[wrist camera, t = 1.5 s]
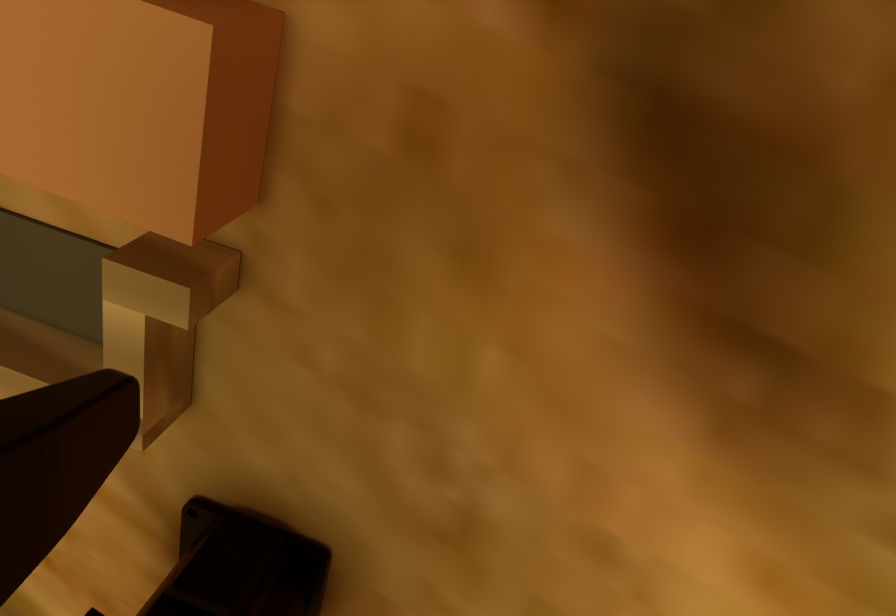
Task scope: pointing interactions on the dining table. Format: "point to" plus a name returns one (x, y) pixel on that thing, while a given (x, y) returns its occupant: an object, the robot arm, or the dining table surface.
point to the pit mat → (52, 275)
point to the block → (140, 106)
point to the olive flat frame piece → (130, 327)
